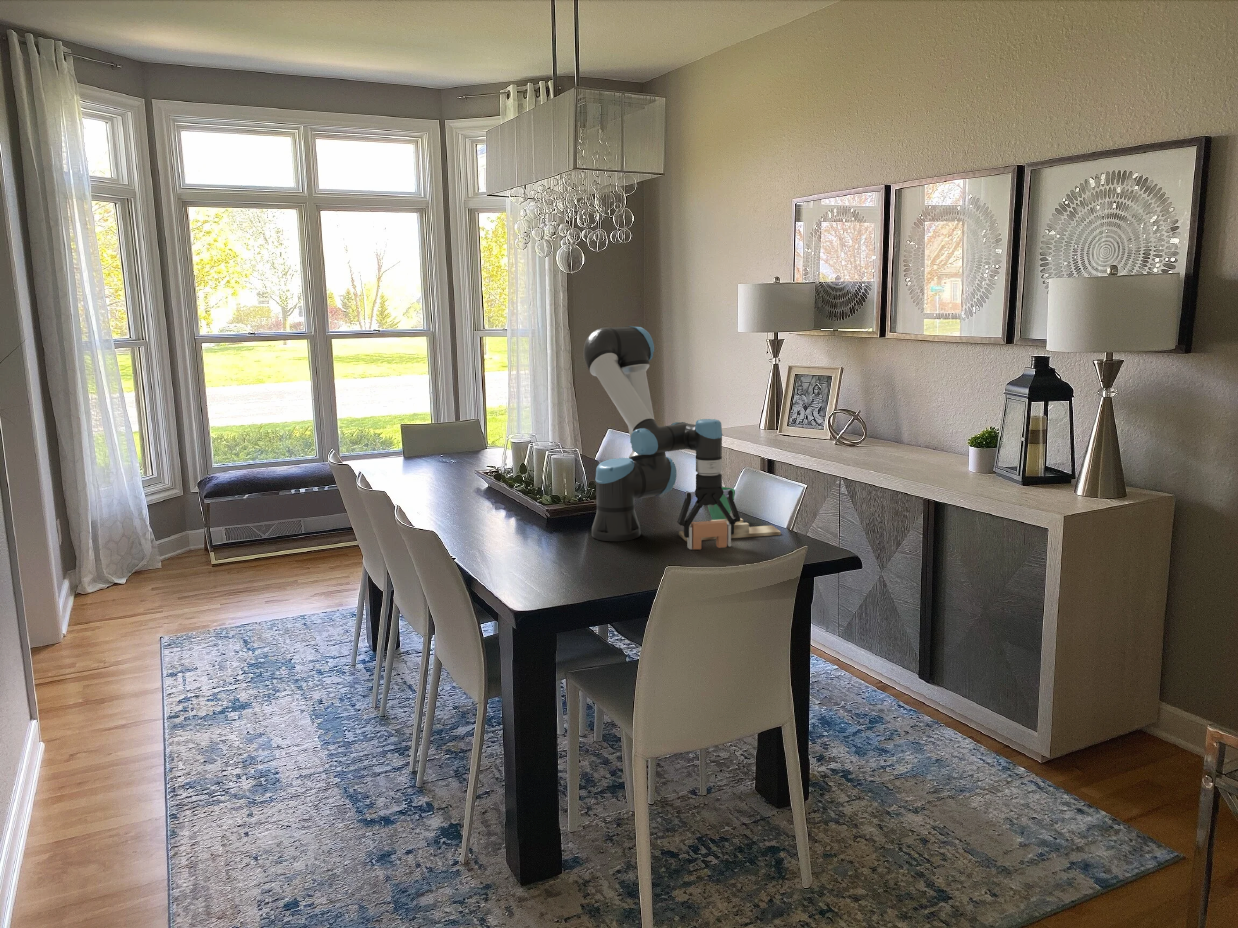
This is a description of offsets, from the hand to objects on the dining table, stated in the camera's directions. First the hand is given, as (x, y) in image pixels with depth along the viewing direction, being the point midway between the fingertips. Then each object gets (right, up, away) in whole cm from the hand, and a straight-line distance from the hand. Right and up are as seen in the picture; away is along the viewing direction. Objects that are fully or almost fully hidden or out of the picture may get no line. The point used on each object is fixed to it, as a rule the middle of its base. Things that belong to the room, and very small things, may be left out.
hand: (709, 546), depth 270 cm
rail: (+8, +3, +13) cm, 16 cm away
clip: (0, 0, 0) cm, 0 cm away
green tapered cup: (+6, +6, +34) cm, 35 cm away
